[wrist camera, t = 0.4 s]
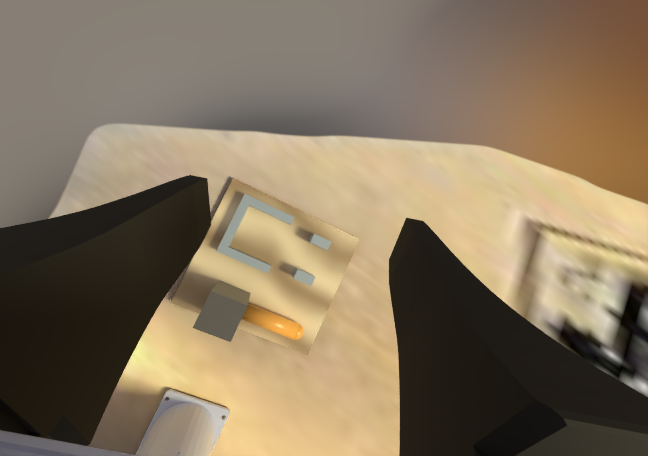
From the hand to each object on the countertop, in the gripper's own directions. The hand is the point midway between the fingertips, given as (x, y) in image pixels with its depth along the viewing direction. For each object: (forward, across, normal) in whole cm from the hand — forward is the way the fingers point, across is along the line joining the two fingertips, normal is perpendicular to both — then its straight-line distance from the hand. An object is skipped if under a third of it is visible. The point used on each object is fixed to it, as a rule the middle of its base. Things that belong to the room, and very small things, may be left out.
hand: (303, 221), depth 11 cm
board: (+17, +4, +21) cm, 27 cm away
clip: (+19, 0, +19) cm, 27 cm away
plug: (+13, +5, +25) cm, 29 cm away
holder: (+19, +6, +17) cm, 27 cm away
